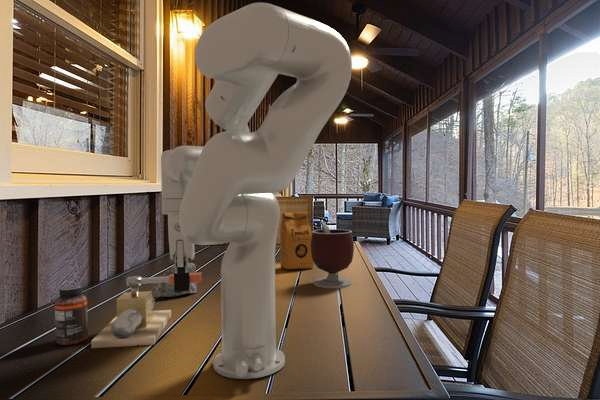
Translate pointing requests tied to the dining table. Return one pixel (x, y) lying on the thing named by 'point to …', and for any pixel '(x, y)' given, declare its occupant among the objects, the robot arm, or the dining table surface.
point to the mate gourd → (332, 255)
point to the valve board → (134, 333)
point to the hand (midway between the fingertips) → (182, 290)
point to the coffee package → (295, 241)
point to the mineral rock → (168, 289)
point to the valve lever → (161, 279)
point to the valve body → (132, 312)
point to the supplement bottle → (71, 316)
